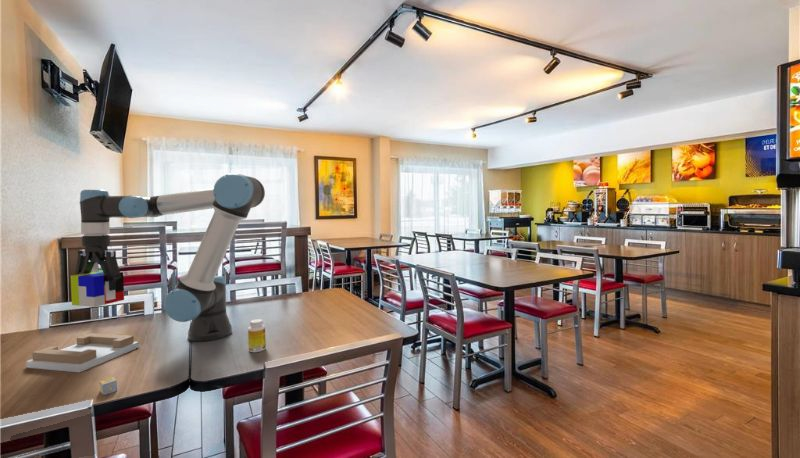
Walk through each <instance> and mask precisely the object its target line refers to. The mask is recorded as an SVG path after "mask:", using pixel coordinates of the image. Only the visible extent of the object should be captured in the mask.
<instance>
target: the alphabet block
mask: <svg viewBox="0 0 800 458" xmlns="http://www.w3.org/2000/svg"><path fill="white" fill-rule="evenodd" d="M117 382H118V381H117V379H116V378H115V377H109V378H107V379H104V380H100V381H99V384H100V386H99V387H100V392H101V394H102V395H103V396H105V395H108V394H111V393H115V392H117V391H118V384H117Z"/></svg>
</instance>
